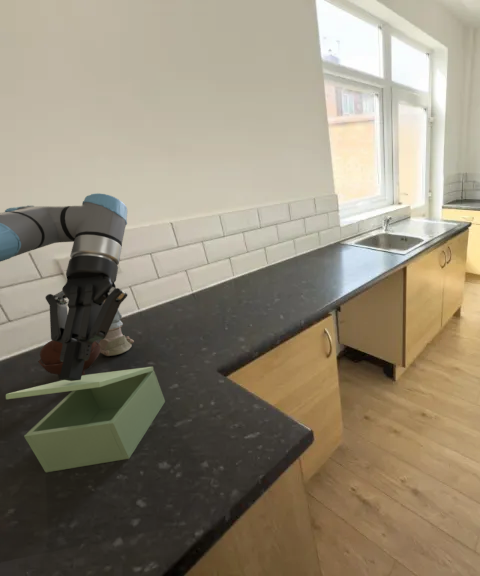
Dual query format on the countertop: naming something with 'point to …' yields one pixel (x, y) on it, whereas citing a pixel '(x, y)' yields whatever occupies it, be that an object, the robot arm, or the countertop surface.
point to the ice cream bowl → (52, 357)
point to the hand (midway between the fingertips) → (70, 379)
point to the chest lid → (80, 383)
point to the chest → (97, 424)
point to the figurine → (115, 339)
